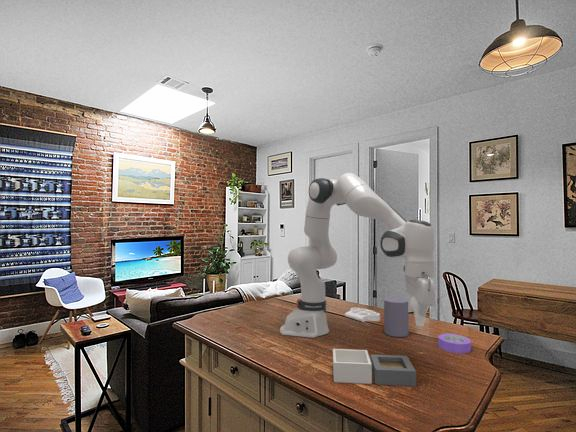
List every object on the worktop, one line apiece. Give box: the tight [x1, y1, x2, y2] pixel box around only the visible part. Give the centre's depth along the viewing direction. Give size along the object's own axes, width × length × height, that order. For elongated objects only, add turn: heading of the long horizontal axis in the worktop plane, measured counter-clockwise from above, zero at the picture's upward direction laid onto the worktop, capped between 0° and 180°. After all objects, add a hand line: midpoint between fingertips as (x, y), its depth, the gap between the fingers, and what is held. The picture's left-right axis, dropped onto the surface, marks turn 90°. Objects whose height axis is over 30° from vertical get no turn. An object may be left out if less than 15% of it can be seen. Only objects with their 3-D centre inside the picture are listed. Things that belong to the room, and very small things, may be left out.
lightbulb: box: [409, 295, 431, 328], centre depth 108 cm, size 6×6×11 cm
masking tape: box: [437, 333, 472, 354], centre depth 133 cm, size 12×12×4 cm
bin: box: [332, 348, 373, 385], centre depth 110 cm, size 12×12×6 cm
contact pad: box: [379, 362, 403, 368], centre depth 108 cm, size 7×7×1 cm
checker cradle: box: [370, 354, 417, 387], centre depth 108 cm, size 12×12×4 cm
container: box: [383, 297, 410, 338], centre depth 150 cm, size 10×10×15 cm
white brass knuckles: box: [344, 307, 381, 323], centre depth 176 cm, size 3×18×15 cm
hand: (419, 313), depth 108 cm, fingers closed on lightbulb, 5 cm apart
